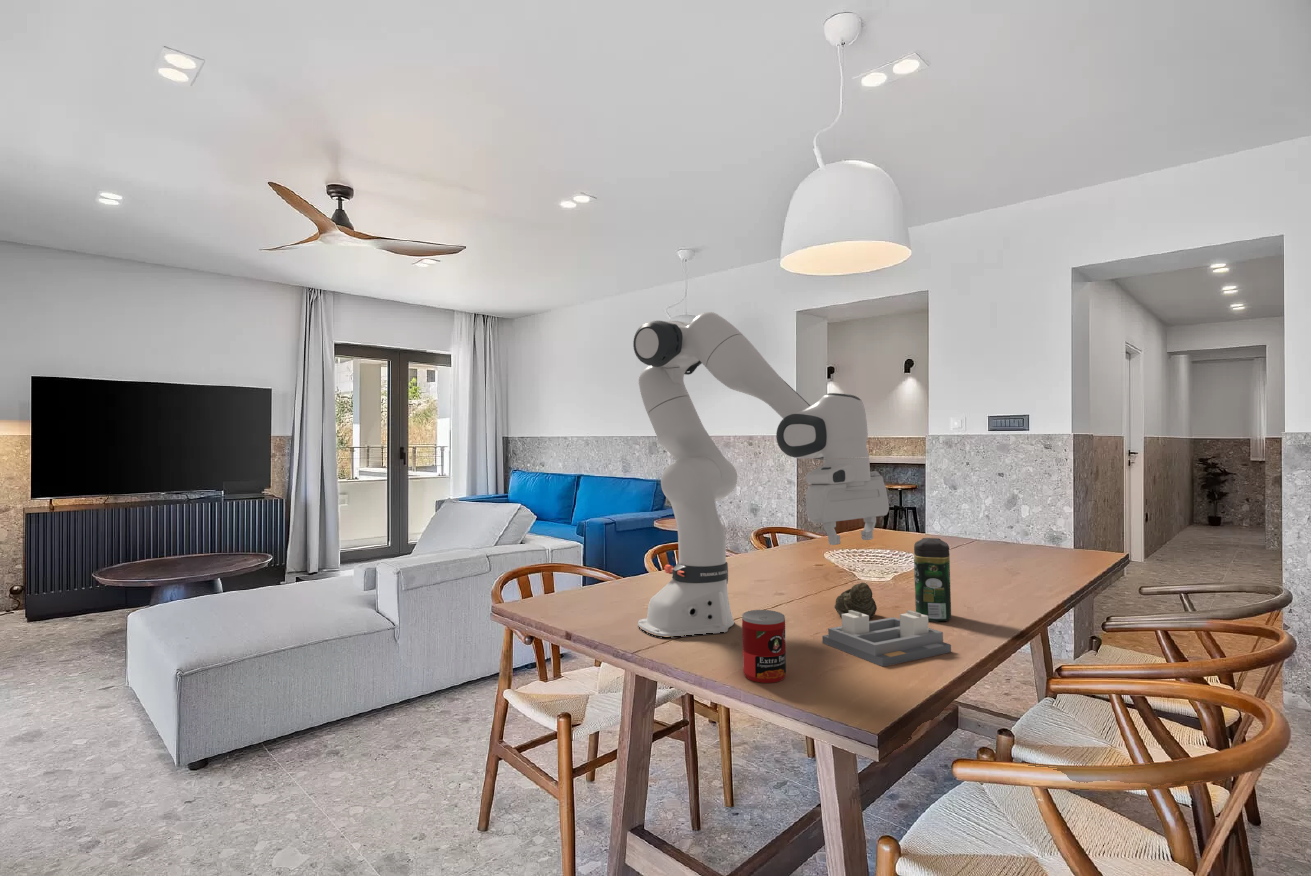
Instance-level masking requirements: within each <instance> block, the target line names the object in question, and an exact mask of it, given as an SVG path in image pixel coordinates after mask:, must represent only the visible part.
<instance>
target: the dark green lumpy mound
mask: <svg viewBox="0 0 1311 876" xmlns="http://www.w3.org/2000/svg"><path fill="white" fill-rule="evenodd" d="M877 608H878V607H877V603H876V600H875V599H874V598H873V591H872V588H870V586H869V584H867V583H866V582H860V583H857V584H856V583H855V584H854V585H852V586H851V587H850V588H849V589H846V590H844V591H842V593H840V594H839V595H838V596H837V597H836V599H835V605H834V609H835V610H836V612H837V614H838V615H839V616H840V617H842V614H845V613H849V610H853V611H856V612H860V613H862V614H866V615H869V619H873V617H874V616H875V614H876V612H877V610H878V609H877Z"/></svg>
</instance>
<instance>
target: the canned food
mask: <svg viewBox="0 0 1311 876" xmlns="http://www.w3.org/2000/svg"><path fill="white" fill-rule="evenodd" d="M785 618H786V617H785V614H783V613H782V612H780V611H775V610H769V609H754V610H752V609H751V610H748V611H745V612H743V613H742V622H741V623H742V624H741V626H742V629H741V630H742V632H741V633H742V671H743V674H744V677H745V678H746V679H747V680H749V681H752V682H754V683H762V684H771V683H772V684H774V683H778V682H781V681H783V680H784V679H785V677H786V673H787V660H786V659H787V658H786V657H787V656H786V653H787V651H786V649H787V647H786V620H785Z"/></svg>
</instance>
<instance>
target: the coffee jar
mask: <svg viewBox="0 0 1311 876" xmlns="http://www.w3.org/2000/svg"><path fill="white" fill-rule="evenodd" d="M913 548H914V549H913V550H914V551H913V553H914V554H913V561H914V562H913V570H914V571H913V572H914V573H913V574H914V575H913V576H914V593H915V594H914V597H915V599H914V600H915V601H914V602H915V605H914V606H915V612H917V613H921V614H923V615H927V616H928V622H934V623H936V622H942V621H946V622H947V621H949V620H950V619H951V617H952V601H951V600H952V599H951V597H952V596H951V595H952V593H951V563H950V562H951V561H950V554H951V553H950V546H949V543H947V542H946V541H944V540H942V539H941V538H937V537H936V538H935V537H931V538H930V537H923V538H921V539H920V540H917V541H916V542H915V543H914V545H913Z"/></svg>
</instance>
